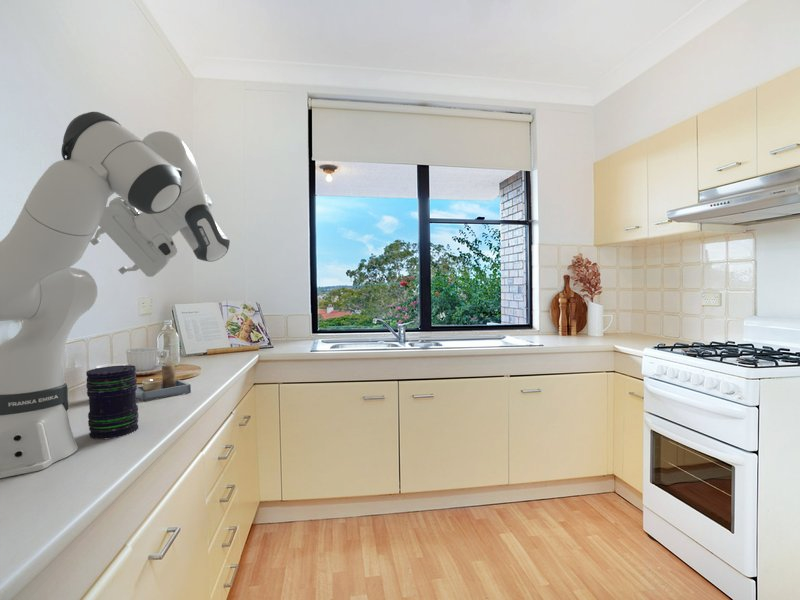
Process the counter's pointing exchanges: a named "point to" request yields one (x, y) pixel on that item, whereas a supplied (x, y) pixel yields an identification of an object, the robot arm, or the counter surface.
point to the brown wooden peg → (168, 376)
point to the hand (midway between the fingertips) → (106, 257)
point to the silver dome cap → (147, 380)
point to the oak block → (151, 385)
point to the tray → (164, 391)
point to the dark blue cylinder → (112, 401)
